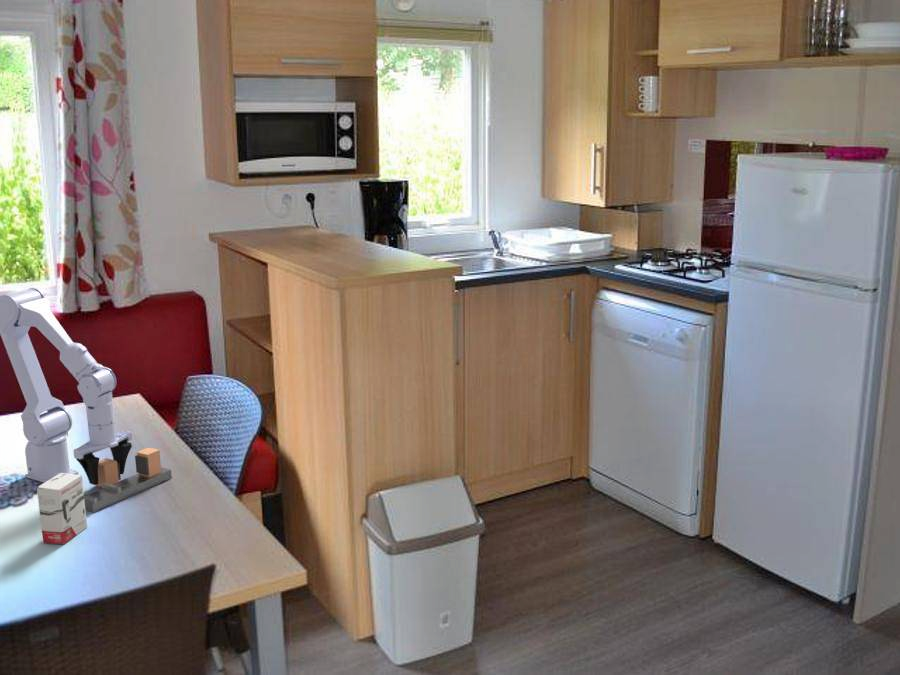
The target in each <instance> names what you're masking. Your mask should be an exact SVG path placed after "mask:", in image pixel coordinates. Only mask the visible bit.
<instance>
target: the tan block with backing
mask: <svg viewBox="0 0 900 675" xmlns="http://www.w3.org/2000/svg"><path fill="white" fill-rule="evenodd" d="M121 479H122V478H121V474H120V466H119V463H117V461H115V460H113V458H112V459H110V458H107V457H105V458H103V459H99V463H98V484H97V485H95V486H97V487H101V488H103V484H104V483H108V484H111V485H112V484H114V483H117V482H119V481H121Z"/></svg>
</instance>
